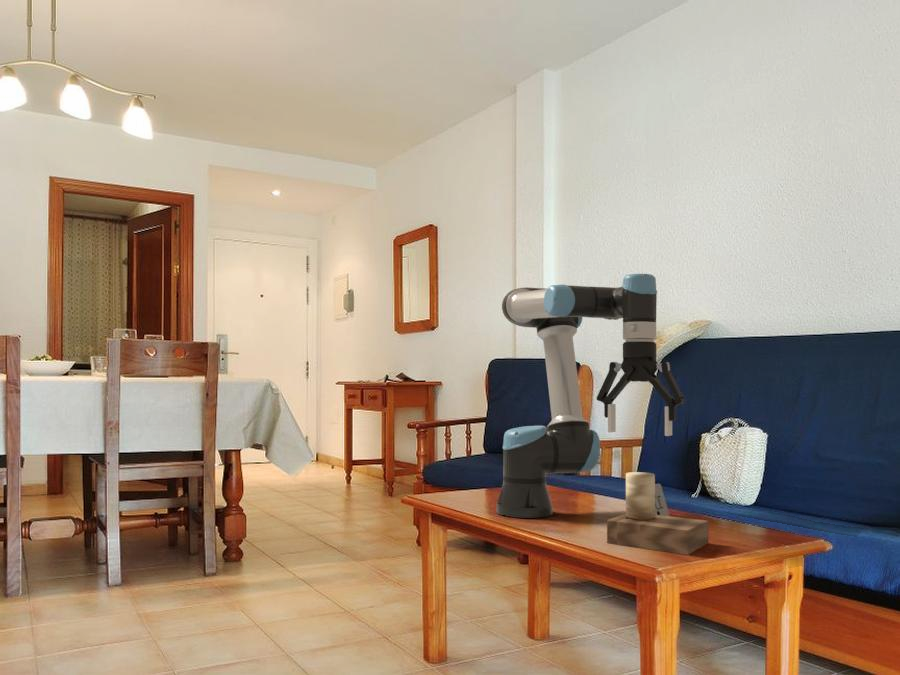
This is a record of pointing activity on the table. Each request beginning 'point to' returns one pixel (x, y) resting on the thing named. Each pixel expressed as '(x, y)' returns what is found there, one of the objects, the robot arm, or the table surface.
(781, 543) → the table surface
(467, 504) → the table surface
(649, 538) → the board
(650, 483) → the leg peg
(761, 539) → the table surface
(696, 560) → the table surface
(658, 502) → the electrical switch
